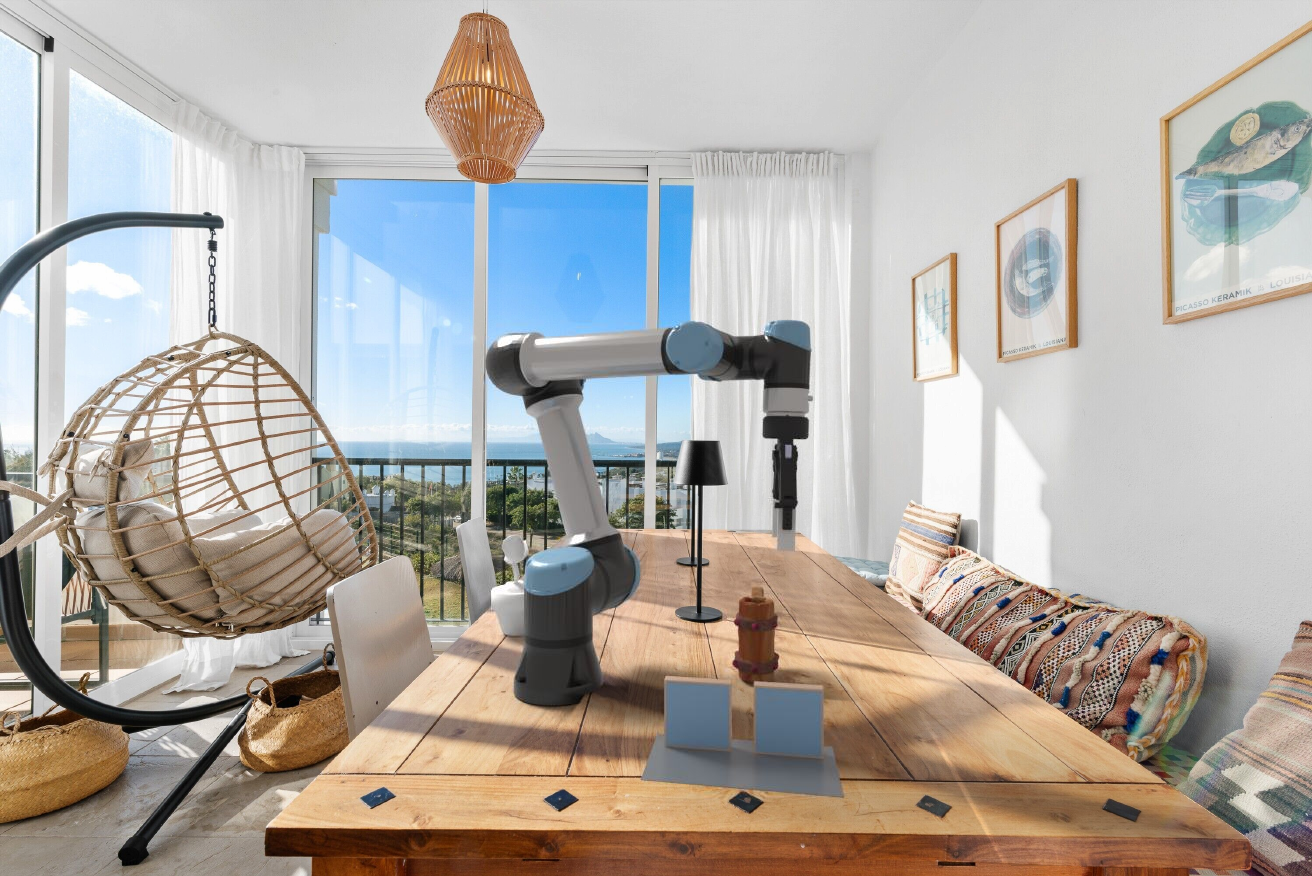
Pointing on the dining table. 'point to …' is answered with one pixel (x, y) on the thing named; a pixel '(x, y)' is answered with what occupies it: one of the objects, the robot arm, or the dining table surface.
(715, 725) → the tile left
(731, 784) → the slate board
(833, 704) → the dining table surface
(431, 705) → the dining table surface
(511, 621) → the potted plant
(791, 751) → the tile right
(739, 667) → the mug
